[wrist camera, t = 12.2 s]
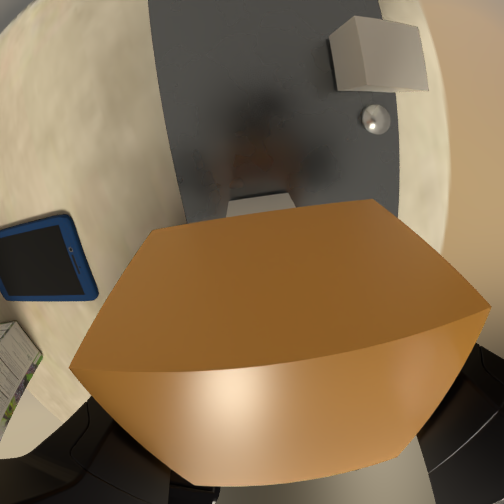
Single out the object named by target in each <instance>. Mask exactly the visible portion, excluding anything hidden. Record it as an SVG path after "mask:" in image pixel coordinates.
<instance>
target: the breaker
mask: <svg viewBox="0 0 504 504" xmlns="http://www.w3.org/2000/svg"><path fill="white" fill-rule="evenodd" d="M329 40H330V46H331V51H332V57H333V63H334V69H335V76H336V83H337V90H338V91H372V92H389V93H392V92H413V91H429V89H428V80H427V73H426V66H425V60H424V54H423V48H422V43H421V39H420V34H419V30H418V27H416V26H411V25H407V24H403V23H398V22H393V21H388V20H382V19H376V18H369V17H361V16H353V17H352V18H351V19H349V20H348V21H347V22H346V23H344V24H343V25H342V26H341V27H339V28H338V29H337V30H336V31H334V32H333V33H332V34H331V35H330V36H329Z"/></svg>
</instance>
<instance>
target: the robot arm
mask: <svg viewBox="0 0 504 504" xmlns="http://www.w3.org/2000/svg"><path fill="white" fill-rule="evenodd" d="M416 436H417V438H418V442H419V445H420V448H421V451H422V454H423V457H424V461H425V464H426V467H427V471H428V473H429V474H428V475H429V478H430V482H431V486H432V489H433V494H434V497H435V502H436V504H504V359H502V358H501V357H499V356H497V355H496V354H494V353H492V352H491V351H489V350H487V349H485V348H484V347H482V346H479V344H477V343H475V345H474V347H473V349H472V351H471V353H470V354H469V356H468V358H467V360H466V362H465V364H464V365H463V367H462V369H461V371H460V372H459V374H458V376H457V377H456V379H455V381H454V382H453V384H452V386H451V387H450V389H449V390H448V392H447V393H446V395H445V396H444V398H443V399H442V401H441V402H440V404H439V405H438V407H437V408H436V409H435V411H434V412H433V414H432V415H431V416H430V418H429V419H428V420H427V422H426V423H425V424H424V426H423V427H422V428H421V429H420V431H419V432H418V433H417V434H416ZM220 487H221V486H197V485H193V484H192V483H190V482H189V481H187V480H186V479H184V478H183V477H182V476H180V475H179V474H177V473H176V472H175V471H173V470H172V469H171V468H169V467H168V466H167V465H165V464H164V463H163V462H161V461H160V460H159V459H158V458H156V457H155V456H154V455H153V454H152V453H150V452H149V451H148V450H147V449H146V448H144V447H143V446H142V445H141V444H140V443H139V442H138V441H136V440H135V439H134V438H133V437H132V436H131V435H130V434H129V433H128V432H127V431H125V430H124V429H123V428H122V427H121V426H120V425H119V424H118V423H117V422H116V421H115V420H114V419H113V418H112V417H111V416H110V415H109V414H108V413H107V412H106V411H105V410H104V409H103V408H102V406H101V405H100V404H99V403H98V402H97V401H96V400H95V399H94V398H93V397H92V396H91V397H90V398H89V399H88V400H87V402H85V403H84V404H83V405H82V406H81V407H80V408H79V409H78V410H77V411H76V412H75V413H74V414H73V415H72V416H71V417H70V418H69V419H68V420H67V421H66V422H65V423H64V424H63V425H62V426H60V427H59V428H58V429H57V430H56V431H55V432H54V433H52V434H51V435H50V436H49V437H48V438H47V439H45V440H44V441H43V442H42V443H41V444H40V445H38V446H37V447H36V448H35V449H34V450H33V451H31V452H30V453H28V454H26V455H24V456H22V457H18V458H10V459H0V504H215V503H216V501H217V499H218V497H219V493H220Z"/></svg>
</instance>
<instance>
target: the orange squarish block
mask: <svg viewBox="0 0 504 504" xmlns="http://www.w3.org/2000/svg"><path fill="white" fill-rule="evenodd" d="M490 309H491V306H490V304H489V303H488V302H487V301H486V300H485V299H484V298H483V297H482V296H481V295H480V294H479V293H478V291H477V290H476V289H474V287H473V286H472V285H471V284H470V283H469V282H468V281H467V280H466V279H465V278H464V277H463V276H462V275H461V274H460V273H459V272H458V271H457V270H456V269H455V268H454V267H453V266H451V264H450V263H448V262H447V261H446V260H445V259H444V258H443V257H442V256H441V255H440V254H439V253H438V252H437V251H436V250H434V249H433V248H432V247H431V246H430V245H429V244H428V243H427V242H425V241H424V240H423V239H422V238H421V237H420V236H419V235H417V234H416V233H415V232H414V231H413V230H411V229H410V228H409V227H408V226H407V225H405V224H404V223H403V222H402V221H401V220H399V219H398V218H397V217H396V216H394V215H393V214H392V213H391V212H389V211H388V210H387V209H385V208H384V207H383V206H382V205H380V204H379V203H378V202H376V201H375V200H374V199H366V200H356V201H347V202H338V203H329V204H321V205H313V206H305V207H297V208H289V209H282V210H274V211H267V212H260V213H253V214H246V215H239V216H233V217H226V218H220V219H214V220H207V221H201V222H195V223H189V224H183V225H178V226H172V227H166V228H161V229H155V230H152V231H151V233H150V234H149V236H148V237H147V238H146V240H145V241H144V243H143V244H142V246H141V247H140V248H139V250H138V251H137V253H136V254H135V256H134V257H133V259H132V260H131V262H130V263H129V265H128V266H127V268H126V269H125V271H124V272H123V274H122V275H121V277H120V279H119V280H118V282H117V283H116V285H115V286H114V288H113V290H112V291H111V293H110V294H109V296H108V298H107V299H106V301H105V303H104V304H103V306H102V308H101V309H100V311H99V313H98V314H97V316H96V318H95V320H94V321H93V323H92V325H91V327H90V328H89V330H88V332H87V334H86V336H85V337H84V339H83V341H82V343H81V345H80V347H79V349H78V350H77V352H76V354H75V356H74V358H73V360H72V362H71V364H70V366H69V369H70V370H71V371H72V373H73V374H74V375H75V376H76V378H77V379H78V380H79V381H80V383H81V384H82V385H83V386H84V387H85V389H86V390H87V391H88V392H89V393H90V394H91V395H92V397H93V398H94V399H95V400H96V401H97V402H98V403H99V404H100V405H101V406H102V408H103V409H104V410H105V411H106V412H107V413H108V414H109V415H110V416H111V417H112V418H113V419H114V420H115V421H116V422H117V423H118V424H119V425H120V426H121V427H122V428H123V429H124V430H125V431H127V432H128V433H129V434H130V435H131V436H132V437H133V438H134V439H135V440H136V441H138V442H139V443H140V444H141V445H142V446H143V447H144V448H146V449H147V450H148V451H149V452H150V453H152V454H153V455H154V456H155V457H156V458H158V459H159V460H160V461H161V462H163V463H164V464H165V465H167V466H168V467H169V468H171V469H172V470H173V471H175V472H176V473H177V474H179V475H180V476H182V477H183V478H184V479H186V480H187V481H189V482H190V483H192V484H193V485H197V486H257V485H258V486H259V485H272V484H281V483H291V482H298V481H304V480H311V479H317V478H322V477H327V476H332V475H337V474H341V473H346V472H350V471H354V470H357V469H361V468H364V467H368V466H371V465H375V464H378V463H381V462H384V461H387V460H390V459H393V458H396V457H397V456H398V455H399V454H400V453H401V452H402V451H403V450H404V448H405V447H406V446H407V445H408V444H409V443H410V442H411V440H412V439H413V438H414V437H415V436H416V434H417V433H418V432H419V431H420V429H421V428H422V427H423V426H424V424H425V423H426V422H427V420H428V419H429V418H430V416H431V415H432V414H433V412H434V411H435V409H436V408H437V407H438V405H439V404H440V402H441V401H442V399H443V398H444V396H445V395H446V393H447V392H448V390H449V389H450V387H451V386H452V384H453V382H454V381H455V379H456V377H457V376H458V374H459V372H460V371H461V369H462V367H463V365H464V364H465V362H466V360H467V358H468V356H469V354H470V353H471V351H472V349H473V347H474V345H475V343H476V341H477V338H478V337H479V335H480V332H481V330H482V328H483V326H484V324H485V321H486V319H487V317H488V314H489V312H490Z"/></svg>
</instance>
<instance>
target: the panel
mask: <svg viewBox="0 0 504 504" xmlns="http://www.w3.org/2000/svg"><path fill="white" fill-rule="evenodd" d="M148 6H149V16H150V25H151V34H152V42H153V49H154V57H155V64H156V70H157V77H158V83H159V89H160V95H161V101H162V107H163V112H164V118H165V123H166V129H167V134H168V139H169V144H170V149H171V154H172V158H173V163H174V168H175V172H176V177H177V181H178V186H179V190H180V195H181V199H182V203H183V207H184V211H185V216H186V220H187V224H189V223H195V222H201V221H207V220H214V219H220V218H226V215H227V209H228V203H229V201H233V200H240V199H246V198H253V197H260V196H268V195H275V194H283V193H289V195H290V197H291V199H292V201H293V203H294V205H295V206H296V208H297V207H305V206H313V205H321V204H329V203H338V202H347V201H356V200H366V199H374V200H375V201H376V202H378V203H379V204H380V205H382V206H383V207H384V208H385V209H387V210H388V211H389V212H391V213H392V214H393V215H394V216H396V217H397V218H398V204H399V132H398V116H397V104H396V94H395V92H392V93H389V92H372V91H338V90H337V83H336V76H335V69H334V63H333V57H332V51H331V46H330V40H329V36H330V35H331V34H332V33H333V32H334V31H336V30H337V29H338V28H339V27H341V26H342V25H343V24H344V23H346V22H347V21H348V20H349V19H351V18H352V17H353V16H361V17H369V18H376V19H382V15H381V11H380V7H379V4H378V0H148ZM382 20H383V19H382Z"/></svg>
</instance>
